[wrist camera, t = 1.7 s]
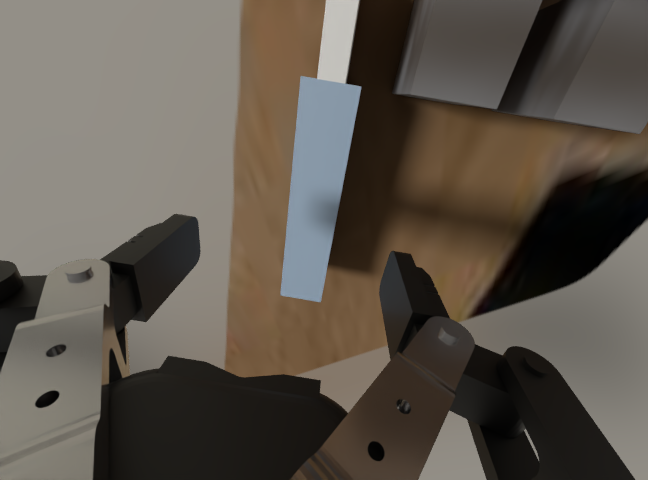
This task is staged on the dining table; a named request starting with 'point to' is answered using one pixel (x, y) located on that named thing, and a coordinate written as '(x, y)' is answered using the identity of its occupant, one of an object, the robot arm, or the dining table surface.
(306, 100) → the blue and white bar
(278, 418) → the robot arm
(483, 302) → the dining table surface
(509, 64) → the brown and grey stand
